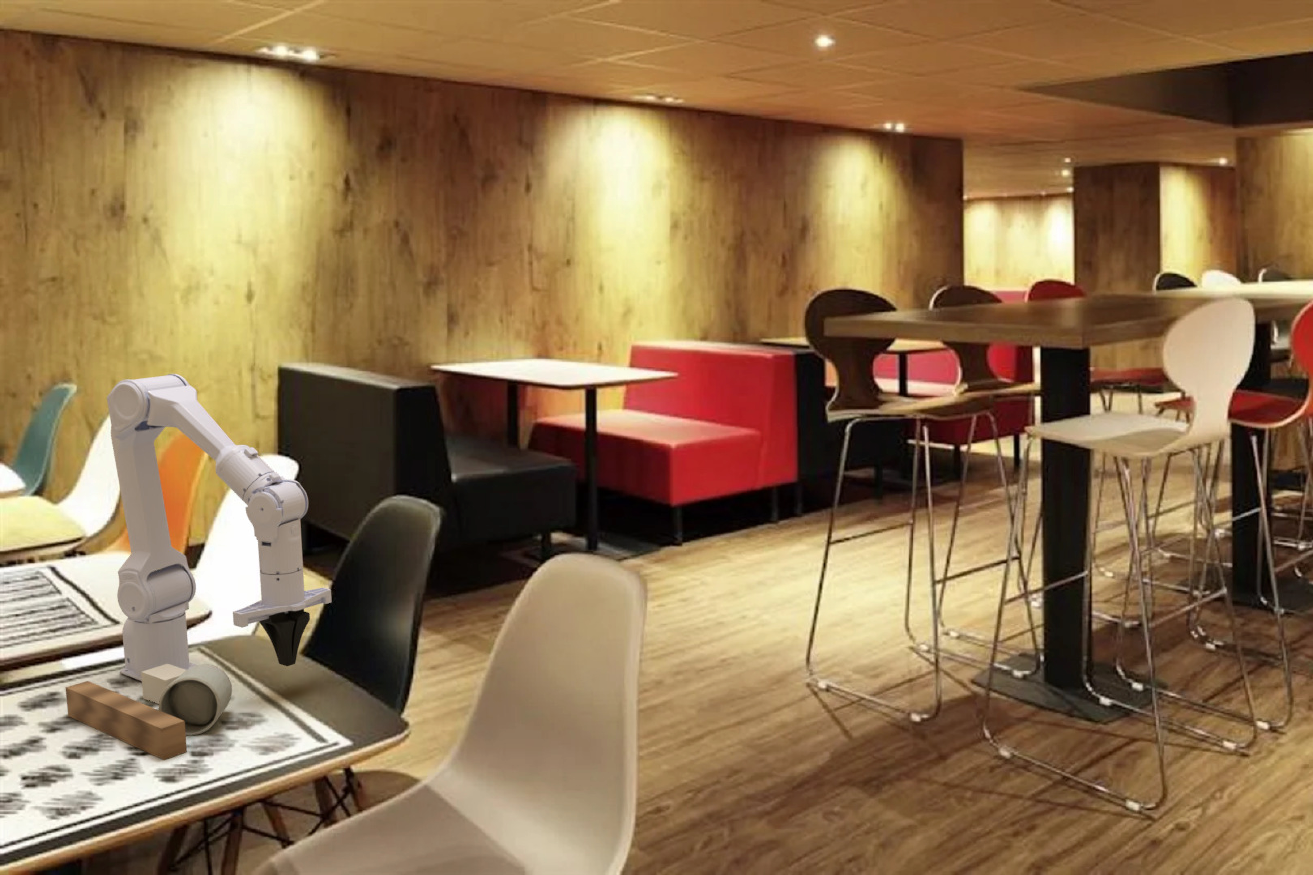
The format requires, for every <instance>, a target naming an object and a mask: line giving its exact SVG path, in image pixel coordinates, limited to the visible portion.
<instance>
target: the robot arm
mask: <svg viewBox="0 0 1313 875" xmlns="http://www.w3.org/2000/svg"><path fill="white" fill-rule="evenodd" d="M197 391H198V390H197V389H196V388H195V387H193V386H192V385H190V383H189V382H188V380H187V379H185V377H183V376H182V375H180V374H177V373H168V374H166V375H161V376H160V375H159V376H153V377H151V376H150V377H142V378H137V379H136V378H135V379H128V378H127V379H122V380H120V381H118V382H117V383H116V384H115V386H113V388H112V389H111V391H110V393H109V394H108V395H107V396H106V403H107V408H108V414H109V419H110V425H111V427H110V437H111V444H112V450H113V456H114V461H115V466H116V474H117V478H118V485H119V490H120V496H121V502H122V505H123V506H122V508H123V512H124V513H123V514H124V518H125V525H126V530H127V535H128V536H127V537H128V542H129V548H130V554H129V556H128V558H127V559H126V560H125V561H124V562H123V564H122V565H121V566H120V568H119V569H118V571H117V574H118V588H117V595H116V596H117V598H116V599H117V603H118V606H119V607H120V610H121V612H122V613H123V614H124V615H125V616H126V617H127V618H126V619H125V621H124V624H123V627H122V631H121V632H122V642H123V655H124V666H125V667H123V668H121V669H119V674H123V675H125V676H128V677H130V678H132V679H135V680H137V681H140V682H142V678H141V672H142V671H145V670H149V669H152V668H155V667H158V666H161V665H165V664H170V665H173V666H176V667H179V668H182V669H185V670H188V669H190V668H192V667H194V666H197V665H198V664H195V663H192V662H190V653H189V642H188V631H187V630H188V629H187V628H188V626H187V617H186V616H187V615H186V611H189V609H190V606H189V605H190V604H189V603H190V602H191V601H192V600H193V599H194V598H195V595H196V590H197V585H196V579H195V577H194V574H193V573H192V571H191V570H190V567H189V565H188V560H187V556H186V555H185V554H184V553H182V552H181V551H179V550H178V549H176V548H175V547H173V546H172V542H171V541H172V540H171V535H170V531H169V530H170V529H169V523H168V519H167V513H166V506H165V501H164V495H163V493H164V492H163V489H162V482H161V476H160V472H159V466H158V459H157V454H156V447H155V441H156V439H157V438H158V437H160V435H161V434H162V432H163V431H164V430H165V428H167V427H168V428H176V429H178V430H179V431H180V432H181V433H182V434H183V435H184V436H186V437H187V438H188V440H189V439H190V441H192V442H193V444H195V445H196V446H197V447H198V448H200V450H202V451H203V452H204V453H205V454H207V455H208V456H209V457H210V458H211V459H212V460H214V461H215V474H216V475H217V476H218V478H219V479H221V480H222V481H223V482H224V484H226V486H228V488H229V489H230V490H232V491H233V493H234V494H236V495H237V497H239V498H240V500H242V501H243V503H244V504H246V505H247V506H245V513H246V516H247V518H248V520H249V522H250V523H251V525H252V527H253V532H254V533H253V534H254V537H256V538H255V539H256V540H257V549H258V564H259V567H258V568H259V578H260V580H259V582H260V595H261V596H260V598H261V600H259V601H256V602H253V603H252V604H250V605H247V606H245V607H243V608H239V609H237V610H234V611H232V620H233V621H232V622H233V626H236V627H239V628H245V627H248V626H249V625H251V624H254V623H257V622H259V624H260V625H261V626H262V628H263V629H264V631H265V633H266V634H267V636H268V638H269V640H270V642H271V644H272V646H273V649H274V652H275V654H276V657H277V662H278V664H279V665H281V666H285V667H289V666H293V665H296V662H297V655H298V651H299V648H300V647H299V646H300V643H301V639H302V636H303V634H304V632H305V629H306V628H307V626H308V624H309V622H310V619H311V616H310V612H308V611H305V609H307V608H310V607H314V606H317V605H322V604H324V605H326V604H329V603H330V604H331V603H332V590H331V588H326V587H319V588H314V589H307V590H305V582H304V581H305V580H304V562H303V547H302V546H303V544H302V528H301V526H302V525H301V519H302V518H303V517H304V516H305V515H306V514H307V513H308V510H309V498H308V495H307V492H306V490H305V489H304V488H303V486H302V485H301V483H300V481H299V482H298V481H297V480H296V479H291V478H289V479H287V478H285V477H284V476H281V475H280V474H279V473H277V471H274V470H273V468H272V467H270V466H269V465H268V464H267V463H266V462H265V461H264V460H263V459H262V457H261V456H259V451H257V449H256V448H254V447H252V446H251V447H250V446H249V445H247V444H235V442H233V440H232V439H231V438H230V437H229V436H228V435H227V433H226V432H225V431H224V430H223V429H222V428H221V426H220V425H219V424H218V423H217V422H216V421H215V419H214V418H213V417H212V416H211V415H210V414H209V413H208V411H207V410H206V409H205V408H204V407H203V406H202V404H201V403H200V402H199V400H198V392H197Z"/></svg>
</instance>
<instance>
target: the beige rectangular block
mask: <svg viewBox="0 0 1313 875" xmlns="http://www.w3.org/2000/svg"><path fill="white" fill-rule="evenodd" d="M185 671H186V670H185V669H182V668H179V667H176V666H173V665H170V664H165V665H161V666H158V667H155V668H152V669H149V670H145V671H142V672H141V678H142V681H141V687H142V690H141V691H142V698H143V699H144V700H147V701H149V700H150V701H149V702H152V701H153V702H152V703H154V702H155V704H158V705H159V700H160V697H161V695H162V693H163V691H164V690H165V689H166V687H167V686H168V685H169V684H170V683H172V682H173V681H174V680H175V679H177V678H178V677H179V676H180V675H181V674H182V673H184V672H185Z"/></svg>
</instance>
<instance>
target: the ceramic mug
mask: <svg viewBox="0 0 1313 875" xmlns="http://www.w3.org/2000/svg"><path fill="white" fill-rule="evenodd" d="M196 665H197V666H194V667H192V668H190V669H188V670H186V671H185V672H184V673H182V674H181V675H180V676H179V677H178V678H177V679H175V680H174V681H173V682H172V683H170V684H169V685H168V686H167V687H166V689H165V690H164V691H163V693H162V695H161V697H160V700H159V704H158V707H157V708H156V709H157V710H159V711H162V712H164V713H167V714H169V715H171V716H174V717H176V718H179V719H181V720H183V721H185V734H186V736H187V737H188V736H197V735H201V734H203V733H205V732H207V731H208V730H210V729H211V728H212V727H213V726H214V725H215V724H216V722H217V721H218V720H219V718H220V717H221V716H222V714H223V712H224V711H225V710H226V708H227V707H228V705H229V704H230V701H231V697H232V694H233V693H232V692H233V685H232V682H231V679H230V677H229V676H228V674H227V673H226V672H225V671H224V670H223V669H222V668H220V667H218V666H216V665H213V664H207V663H206V664H205V663H204V664H196Z"/></svg>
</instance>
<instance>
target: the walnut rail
mask: <svg viewBox="0 0 1313 875" xmlns="http://www.w3.org/2000/svg"><path fill="white" fill-rule="evenodd" d="M65 696H66V706H67V716H68V717H70V718H72V719H74V720H76V721H79V722H80V723H83V724H85V725H87V726H90V727H92V728H94V729H95V730H97V731H100V732H102V733H103V734H107V735H109V736H111V737H113V738H116V739H118V740H120V741H122V742H124V743H126V744H128V745H131V746H132V747H135V748H137V749H139V750H142V751H144V752H146V753H148V754H150V755H153V756H155V757H156V758H159V759H161V760H163V761H165V760H169V759H172V758H174V757H176V756H180V755H182V754H185V753H187V752H188V748H187V737H186V736H187V735H186V734H185V721H183V720H181V719H179V718H176V717H174V716H171V715H169V714H167V713H164V712H162V711H159V710H157V708H154V707H152V706H149V705H148V704H147V705H146V704H145V703H142V702H140V701H137V700H135V699H133V698H131V697H128V696H125V695H123V694H121V693H118V692H115V691H113V690H110V689H108V688H106V687H104V686H101V685H98V684H96V683H94V682H92V681H89V680H85V681H83V682H80V683H75V684H72V685H69V686H66V687H65Z"/></svg>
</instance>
